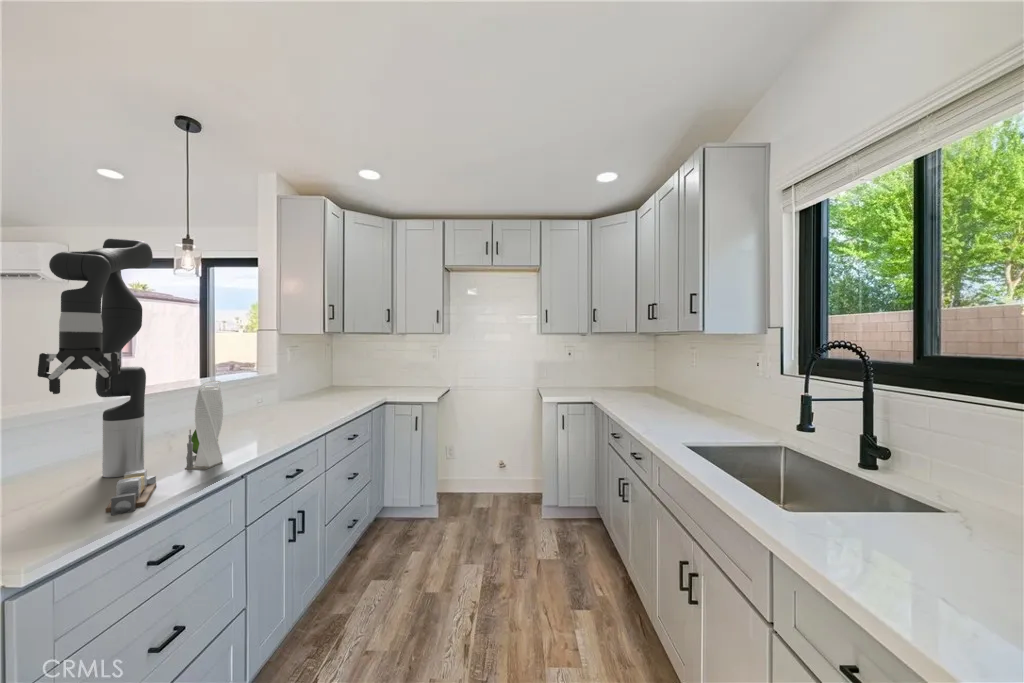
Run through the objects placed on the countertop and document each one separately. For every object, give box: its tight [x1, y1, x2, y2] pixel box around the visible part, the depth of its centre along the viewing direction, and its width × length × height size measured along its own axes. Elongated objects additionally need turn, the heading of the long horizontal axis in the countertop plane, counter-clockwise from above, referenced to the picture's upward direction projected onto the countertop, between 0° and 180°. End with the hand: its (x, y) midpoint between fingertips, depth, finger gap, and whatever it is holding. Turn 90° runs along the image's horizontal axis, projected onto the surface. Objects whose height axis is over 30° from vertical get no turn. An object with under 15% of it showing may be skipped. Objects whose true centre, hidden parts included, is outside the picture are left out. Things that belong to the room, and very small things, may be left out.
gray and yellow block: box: [115, 468, 148, 500], centre depth 101 cm, size 4×10×5 cm, turn 35°
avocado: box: [191, 428, 199, 455], centre depth 140 cm, size 8×8×12 cm
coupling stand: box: [105, 475, 157, 516], centre depth 102 cm, size 21×7×4 cm, turn 35°
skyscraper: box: [184, 380, 224, 471], centre depth 128 cm, size 8×8×28 cm
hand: (81, 392), depth 100 cm, fingers open, 8 cm apart
